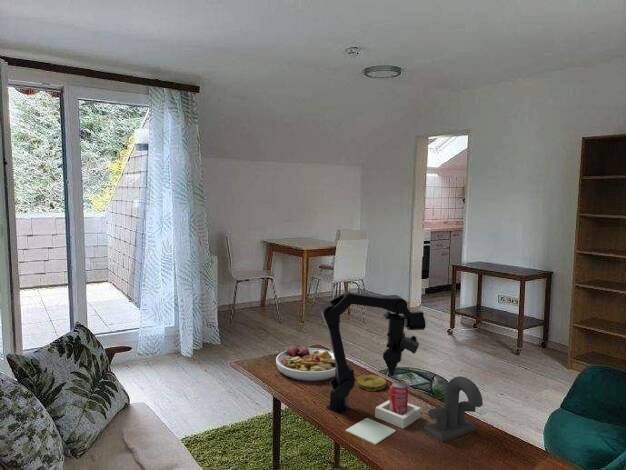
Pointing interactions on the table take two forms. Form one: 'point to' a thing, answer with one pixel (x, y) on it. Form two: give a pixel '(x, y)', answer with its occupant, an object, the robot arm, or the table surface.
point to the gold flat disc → (371, 382)
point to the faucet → (454, 410)
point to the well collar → (396, 419)
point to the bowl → (306, 363)
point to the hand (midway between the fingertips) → (393, 371)
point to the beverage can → (398, 398)
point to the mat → (370, 431)
